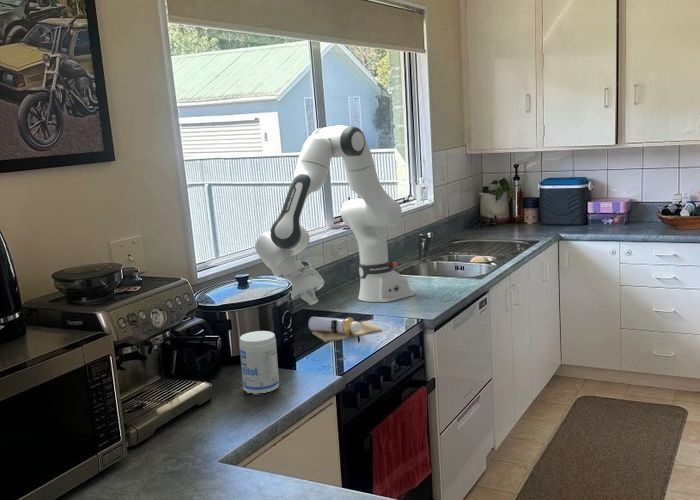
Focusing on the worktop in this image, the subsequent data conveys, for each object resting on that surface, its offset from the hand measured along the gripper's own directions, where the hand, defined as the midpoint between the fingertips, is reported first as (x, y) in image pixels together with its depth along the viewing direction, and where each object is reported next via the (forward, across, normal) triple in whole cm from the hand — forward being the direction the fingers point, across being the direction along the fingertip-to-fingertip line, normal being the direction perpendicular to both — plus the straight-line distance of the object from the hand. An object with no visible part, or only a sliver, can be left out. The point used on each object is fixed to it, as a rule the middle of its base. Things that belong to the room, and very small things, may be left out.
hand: (314, 303), depth 231 cm
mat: (+14, +2, 0) cm, 14 cm away
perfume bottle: (+4, -1, +6) cm, 7 cm away
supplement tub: (+19, -48, -5) cm, 52 cm away
